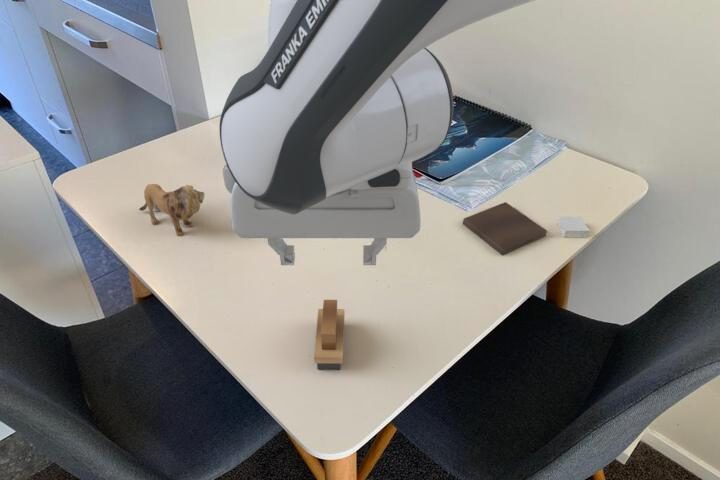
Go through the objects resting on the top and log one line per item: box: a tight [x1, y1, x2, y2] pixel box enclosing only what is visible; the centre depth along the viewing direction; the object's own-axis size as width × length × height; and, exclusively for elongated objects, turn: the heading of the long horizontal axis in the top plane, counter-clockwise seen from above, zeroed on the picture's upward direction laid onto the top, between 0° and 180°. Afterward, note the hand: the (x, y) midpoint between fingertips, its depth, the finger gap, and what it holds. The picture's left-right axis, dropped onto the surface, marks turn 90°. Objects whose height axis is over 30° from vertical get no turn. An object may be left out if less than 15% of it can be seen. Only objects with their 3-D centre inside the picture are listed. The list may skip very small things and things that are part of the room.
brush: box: [313, 299, 346, 371], centre depth 68 cm, size 8×4×6 cm, turn 0°
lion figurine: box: [138, 183, 205, 237], centre depth 88 cm, size 15×5×9 cm, turn 65°
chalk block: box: [556, 216, 590, 239], centre depth 90 cm, size 4×4×2 cm
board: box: [462, 201, 548, 256], centre depth 90 cm, size 10×10×1 cm
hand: (328, 262), depth 61 cm, fingers open, 8 cm apart
